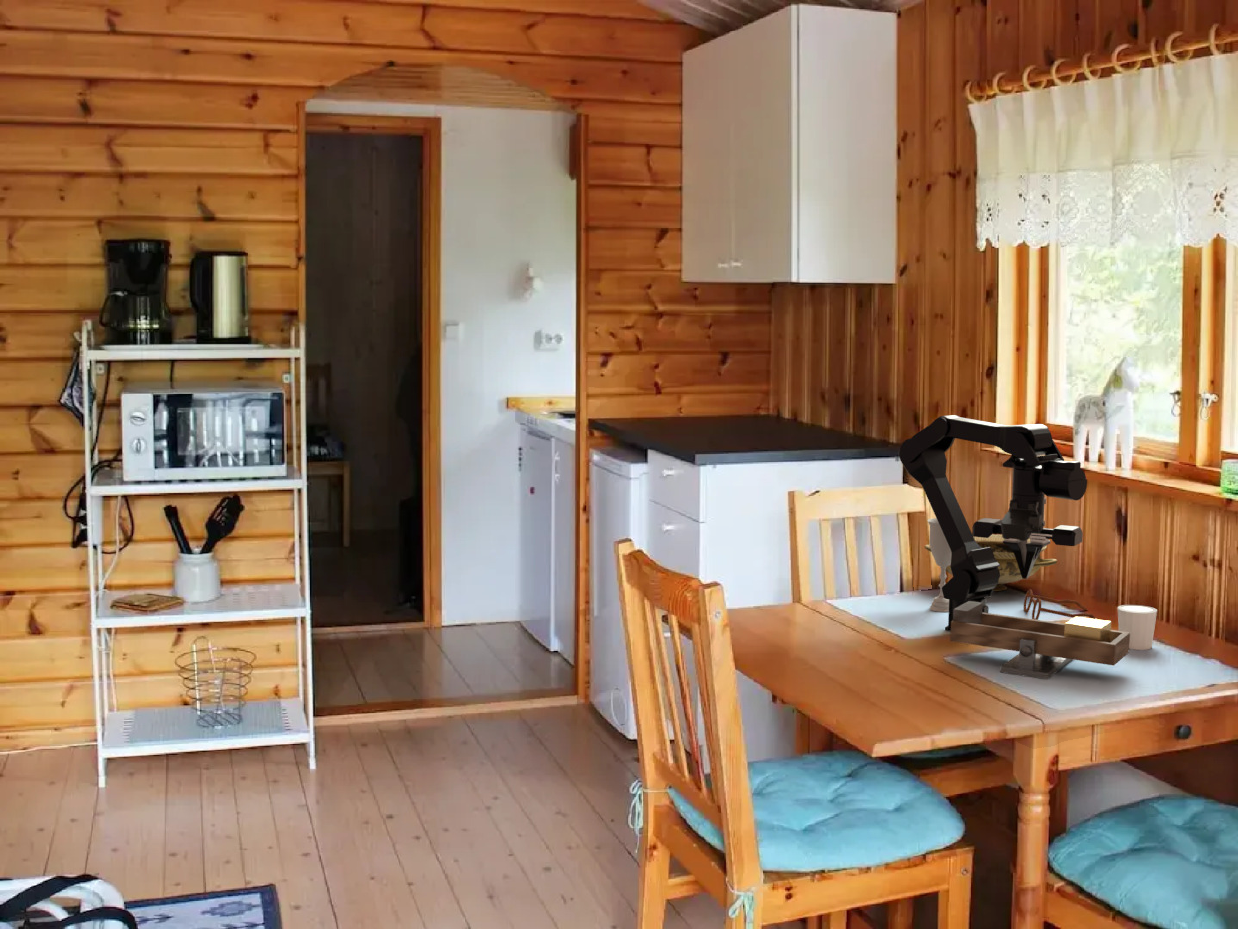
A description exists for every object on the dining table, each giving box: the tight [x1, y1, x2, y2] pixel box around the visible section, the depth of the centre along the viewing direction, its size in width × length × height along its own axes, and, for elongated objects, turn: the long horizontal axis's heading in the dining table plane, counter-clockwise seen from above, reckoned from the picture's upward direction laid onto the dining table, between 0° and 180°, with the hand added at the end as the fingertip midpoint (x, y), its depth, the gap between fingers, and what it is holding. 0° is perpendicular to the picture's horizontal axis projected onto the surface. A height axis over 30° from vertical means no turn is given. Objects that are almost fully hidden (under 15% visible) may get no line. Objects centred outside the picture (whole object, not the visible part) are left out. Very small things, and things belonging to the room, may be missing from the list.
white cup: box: [1117, 604, 1158, 651], centre depth 266 cm, size 7×7×7 cm
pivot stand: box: [999, 638, 1073, 680], centre depth 253 cm, size 8×16×6 cm, turn 148°
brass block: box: [1064, 616, 1112, 643], centre depth 248 cm, size 6×6×4 cm
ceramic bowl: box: [924, 534, 1058, 592], centre depth 315 cm, size 30×24×10 cm
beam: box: [949, 601, 1130, 667], centre depth 253 cm, size 28×10×6 cm, turn 58°
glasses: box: [1023, 588, 1097, 620], centre depth 289 cm, size 13×13×5 cm
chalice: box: [927, 517, 952, 613], centre depth 294 cm, size 7×7×18 cm
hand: (1025, 578), depth 267 cm, fingers closed
